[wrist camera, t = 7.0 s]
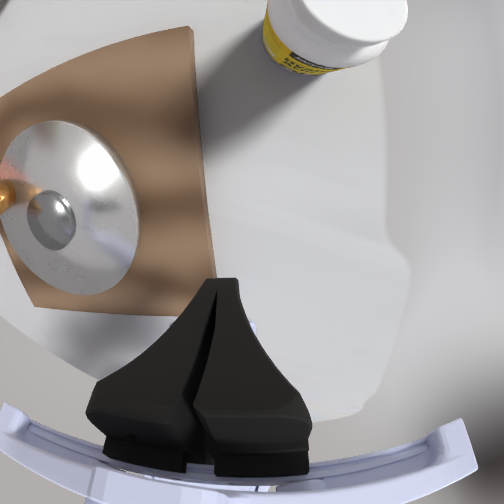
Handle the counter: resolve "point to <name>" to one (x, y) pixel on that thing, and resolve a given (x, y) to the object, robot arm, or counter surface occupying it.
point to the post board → (132, 164)
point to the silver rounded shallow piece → (70, 206)
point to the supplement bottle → (329, 32)
